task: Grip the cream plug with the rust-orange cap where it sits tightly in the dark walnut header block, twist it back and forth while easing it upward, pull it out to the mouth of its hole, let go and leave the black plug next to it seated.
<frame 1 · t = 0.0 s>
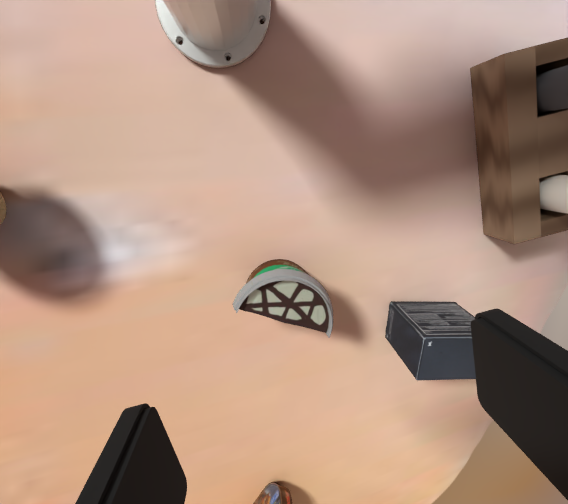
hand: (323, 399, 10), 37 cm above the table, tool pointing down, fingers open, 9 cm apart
tin: (261, 503, 59), on the table
cream plug: (561, 193, 41), point 6 cm above the table, slide at 0.0 cm
header block: (520, 145, 46), on the table
black plug: (560, 88, 38), point 6 cm above the table, slide at 0.0 cm
small box: (419, 319, 52), on the table
food container: (284, 272, 48), on the table
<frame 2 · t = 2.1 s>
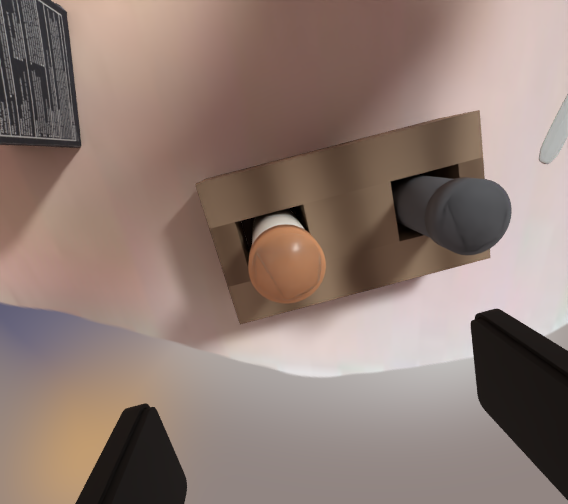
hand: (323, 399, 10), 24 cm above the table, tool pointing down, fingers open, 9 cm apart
cream plug: (280, 243, 27), point 6 cm above the table, slide at 0.0 cm
header block: (335, 211, 33), on the table
black plug: (427, 204, 27), point 6 cm above the table, slide at 0.0 cm
small box: (36, 80, 28), on the table
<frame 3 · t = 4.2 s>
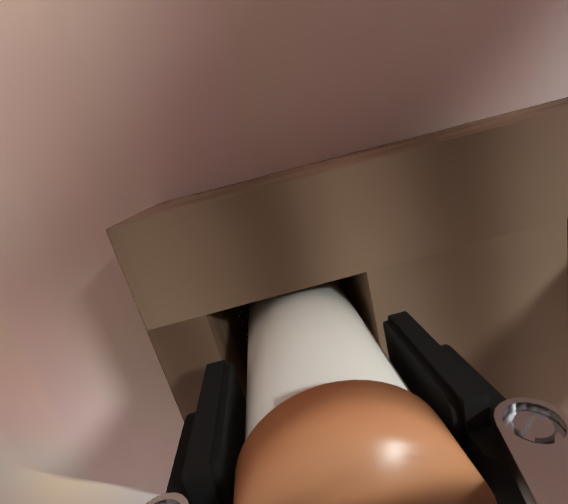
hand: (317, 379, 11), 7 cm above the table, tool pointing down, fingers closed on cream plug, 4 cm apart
cream plug: (311, 359, 12), point 6 cm above the table, slide at 0.0 cm, touching gripper
header block: (402, 261, 18), on the table
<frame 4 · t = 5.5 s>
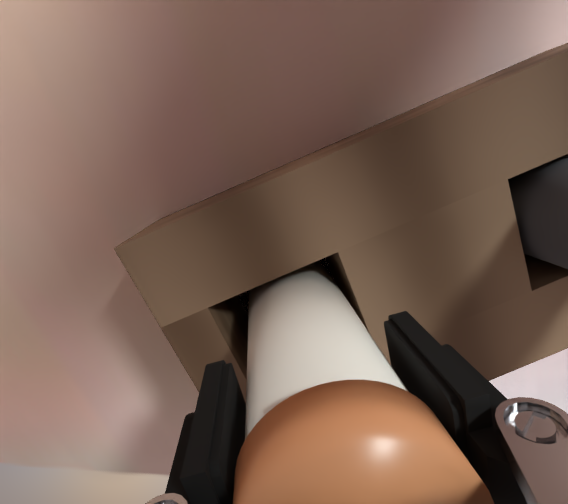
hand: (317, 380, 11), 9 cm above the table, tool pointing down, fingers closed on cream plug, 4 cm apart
cream plug: (310, 360, 12), point 8 cm above the table, slide at 1.8 cm, touching gripper
header block: (383, 238, 19), on the table
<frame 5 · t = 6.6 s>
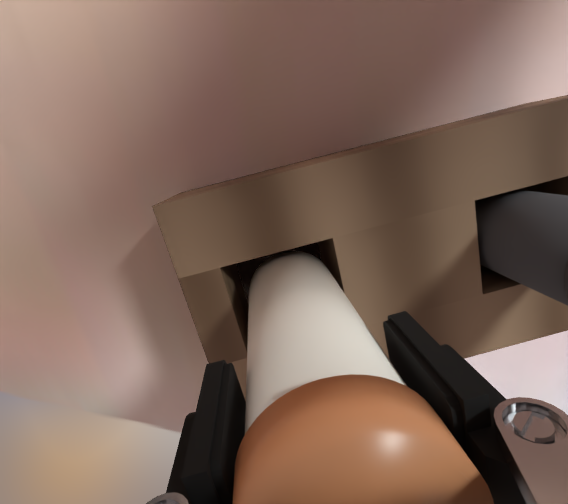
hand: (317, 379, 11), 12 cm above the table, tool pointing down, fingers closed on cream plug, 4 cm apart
cream plug: (310, 356, 12), point 11 cm above the table, slide at 4.8 cm, touching gripper
header block: (370, 239, 23), on the table
black plug: (531, 238, 17), point 6 cm above the table, slide at 0.0 cm
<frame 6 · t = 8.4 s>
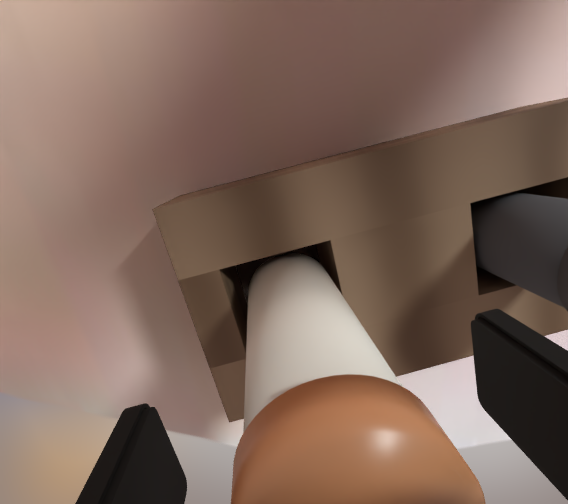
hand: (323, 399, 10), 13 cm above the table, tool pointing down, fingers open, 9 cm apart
cream plug: (308, 357, 12), point 11 cm above the table, slide at 4.8 cm
header block: (368, 241, 23), on the table
black plug: (526, 239, 17), point 6 cm above the table, slide at 0.0 cm
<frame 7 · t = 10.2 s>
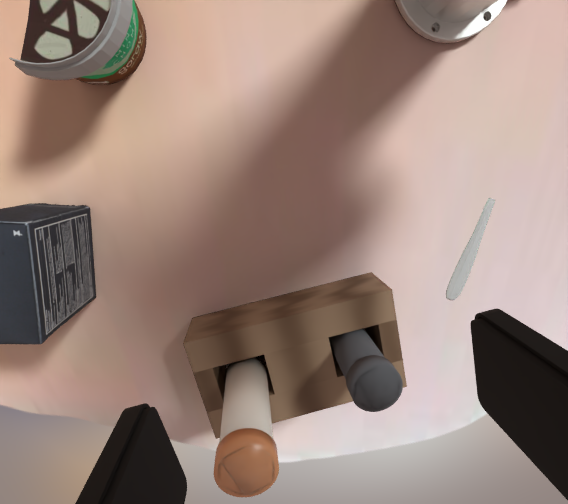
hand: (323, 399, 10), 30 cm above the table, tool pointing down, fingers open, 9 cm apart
cream plug: (246, 414, 31), point 11 cm above the table, slide at 4.8 cm
header block: (293, 338, 42), on the table
black plug: (356, 353, 36), point 6 cm above the table, slide at 0.0 cm
butter knife: (487, 195, 41), on the table
small box: (63, 252, 37), on the table
food container: (125, 44, 33), on the table
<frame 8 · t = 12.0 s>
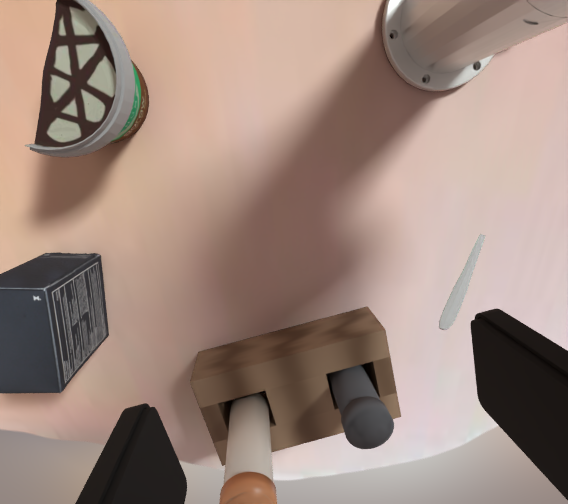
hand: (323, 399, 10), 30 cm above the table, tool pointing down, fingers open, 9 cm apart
cream plug: (249, 451, 34), point 11 cm above the table, slide at 4.8 cm
header block: (294, 368, 44), on the table
black plug: (352, 388, 38), point 6 cm above the table, slide at 0.0 cm
butter knife: (478, 230, 42), on the table
small box: (77, 295, 40), on the table
food container: (129, 105, 35), on the table
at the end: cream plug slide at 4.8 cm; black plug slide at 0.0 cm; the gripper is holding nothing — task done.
